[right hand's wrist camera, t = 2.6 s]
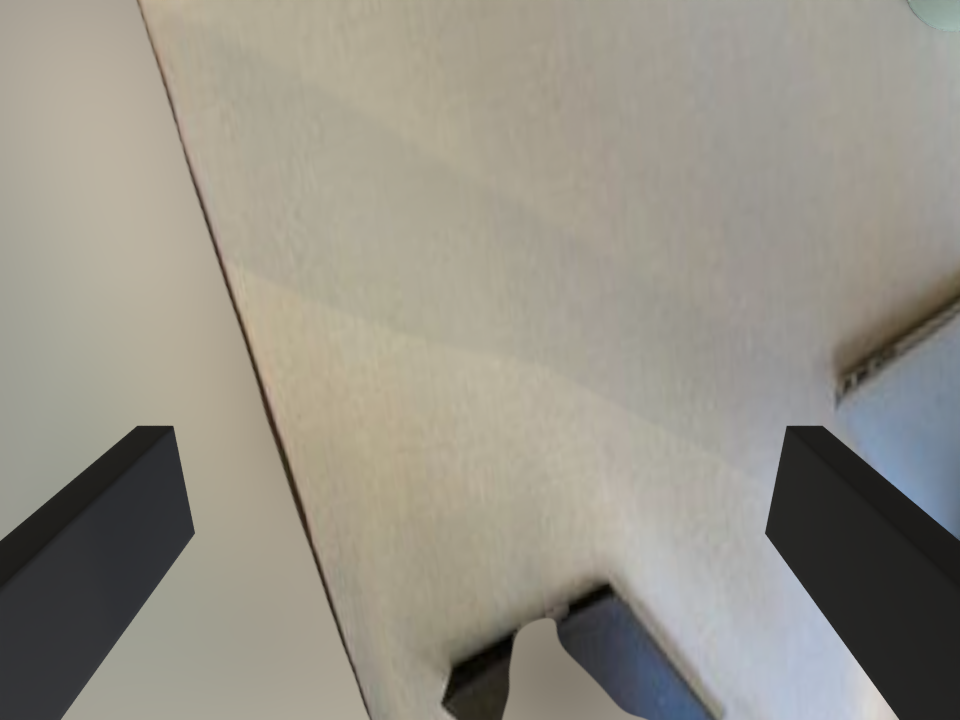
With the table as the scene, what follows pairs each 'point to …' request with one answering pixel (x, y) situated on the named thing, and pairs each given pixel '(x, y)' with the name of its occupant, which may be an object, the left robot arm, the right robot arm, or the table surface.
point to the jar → (938, 13)
